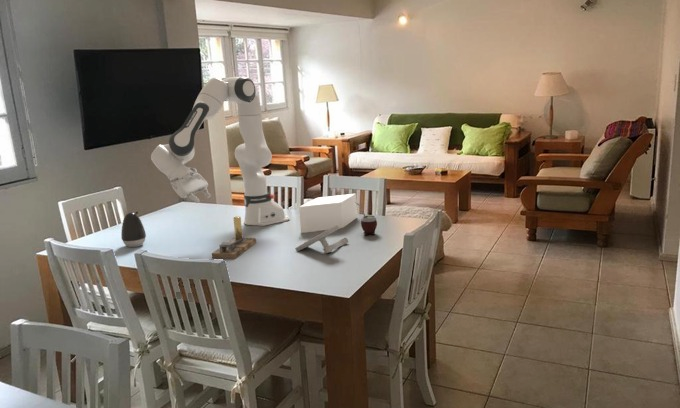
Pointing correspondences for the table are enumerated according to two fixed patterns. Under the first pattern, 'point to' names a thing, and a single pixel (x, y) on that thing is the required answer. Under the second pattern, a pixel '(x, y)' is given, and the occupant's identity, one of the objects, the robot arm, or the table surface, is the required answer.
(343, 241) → the door handle
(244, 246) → the door and jamb
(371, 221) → the mate gourd
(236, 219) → the bolt
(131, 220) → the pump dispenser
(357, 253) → the table surface
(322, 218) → the block
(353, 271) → the table surface
